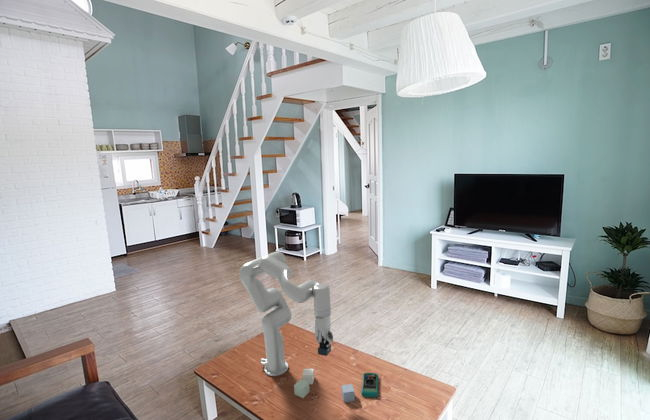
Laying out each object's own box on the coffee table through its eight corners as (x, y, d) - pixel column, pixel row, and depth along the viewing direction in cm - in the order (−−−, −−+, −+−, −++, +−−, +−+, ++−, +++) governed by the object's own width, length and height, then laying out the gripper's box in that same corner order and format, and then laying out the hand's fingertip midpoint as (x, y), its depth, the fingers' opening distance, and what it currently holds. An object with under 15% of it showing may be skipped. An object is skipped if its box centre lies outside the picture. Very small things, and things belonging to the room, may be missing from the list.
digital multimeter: (378, 377, 171) (378, 372, 170) (377, 398, 156) (377, 392, 156) (363, 376, 172) (363, 371, 171) (361, 397, 157) (361, 391, 157)
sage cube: (294, 394, 161) (294, 385, 160) (301, 388, 165) (300, 379, 164) (303, 398, 158) (302, 388, 158) (309, 391, 163) (308, 382, 162)
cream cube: (302, 383, 168) (302, 374, 167) (304, 377, 173) (304, 368, 172) (312, 384, 167) (312, 375, 167) (314, 377, 172) (313, 368, 171)
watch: (330, 356, 155) (329, 333, 154) (314, 353, 159) (313, 330, 157) (335, 350, 160) (334, 328, 159) (319, 347, 164) (318, 325, 162)
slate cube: (343, 402, 154) (343, 392, 153) (341, 394, 159) (341, 385, 158) (354, 401, 155) (354, 391, 154) (352, 393, 160) (352, 383, 159)
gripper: (320, 302, 165) (322, 337, 168) (308, 318, 150) (311, 356, 153) (335, 304, 163) (336, 339, 166) (325, 320, 147) (327, 359, 151)
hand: (324, 347), depth 159 cm, fingers closed on watch, 3 cm apart
